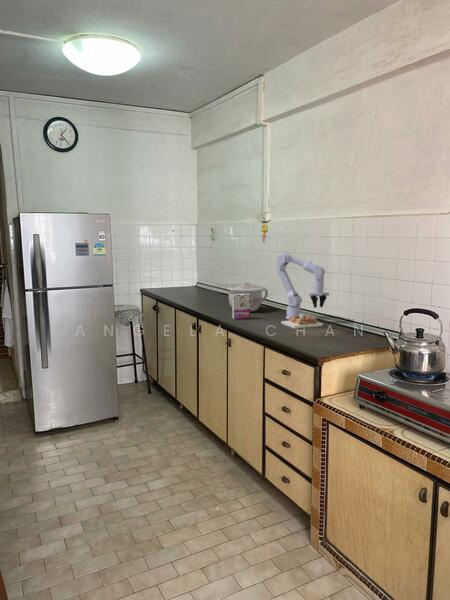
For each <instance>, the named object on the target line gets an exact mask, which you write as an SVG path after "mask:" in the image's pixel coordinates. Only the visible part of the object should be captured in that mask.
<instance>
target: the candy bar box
mask: <svg viewBox="0 0 450 600" xmlns="http://www.w3.org/2000/svg"><path fill="white" fill-rule="evenodd" d="M231 309H232V311H231V314H232V315H231V316H232V319H233V320H234V321H235V320H236V321H237V320H249V319H251V312H250V294H232V307H231Z"/></svg>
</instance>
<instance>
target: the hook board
mask: <svg viewBox="0 0 450 600" xmlns="http://www.w3.org/2000/svg"><path fill="white" fill-rule="evenodd" d="M304 316H305V314H303V313H300V319H304ZM280 324H281V325H284V326H286V327H290V328H292V329H305V328H306V327H307V328H315V327H316V328H317V327H323V325H324V323H321V322H318V321H317V324H305V325H299V324H296V323H293V322H290V320H281V322H280Z"/></svg>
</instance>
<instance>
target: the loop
mask: <svg viewBox="0 0 450 600" xmlns="http://www.w3.org/2000/svg"><path fill="white" fill-rule="evenodd" d="M304 315H305V314H304ZM289 321H290V322H293V323H296V324H299V325H305V324H317V322H318V318H316V317H312V316H310V315H305V316H304V319H300V316H291V317H290V320H289Z"/></svg>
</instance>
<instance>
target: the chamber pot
mask: <svg viewBox="0 0 450 600" xmlns="http://www.w3.org/2000/svg"><path fill="white" fill-rule="evenodd" d="M226 289H227V290H229V293H228V302H229V305H230V307H231V308H232V294H250V313H253V312H256V311H258V309H259V308H260V307H261V305H262V303H263V302H264V301H265V300H266V299H267V298H268V295H269V292H268V290H267V288H266V287H263V286H258V285H250V283H249V282H243V283H242V284H238V285H237V284H236V285H230V286H228V287H227V288H226ZM263 291H264V292H265V293H264V296H263V293H262V292H263Z"/></svg>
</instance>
